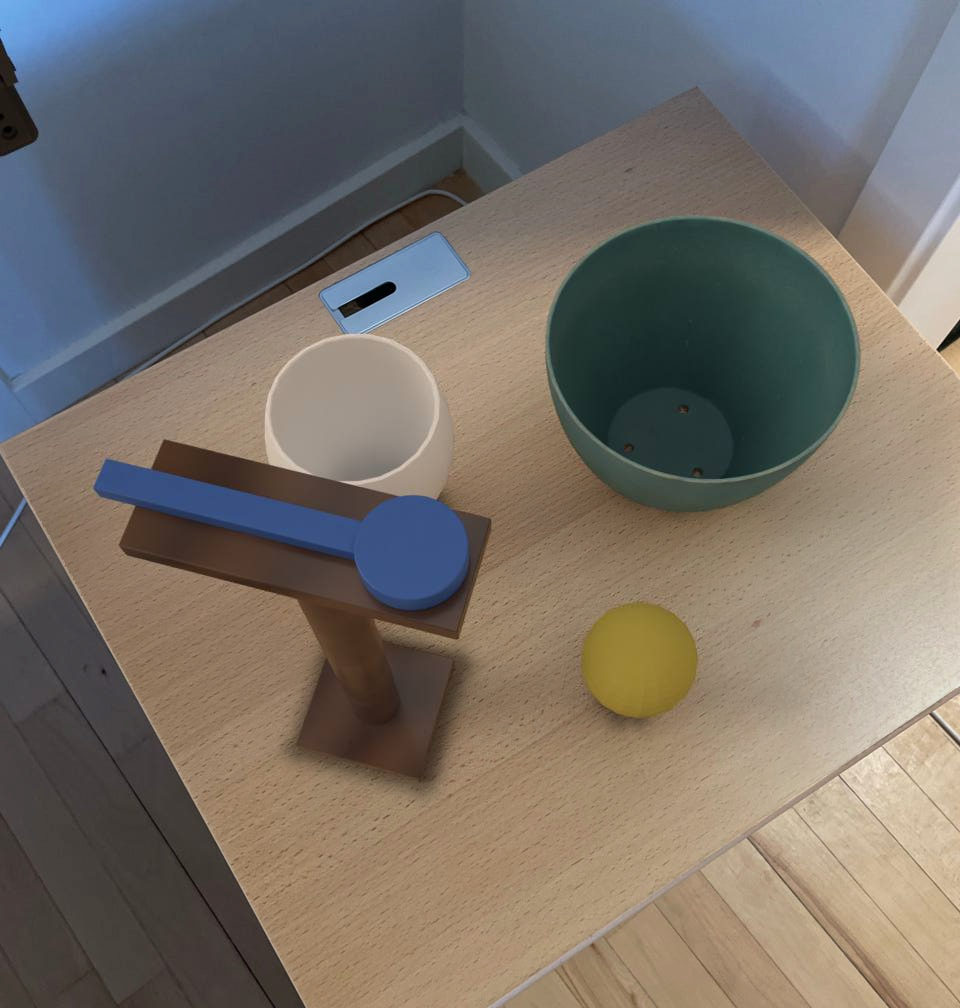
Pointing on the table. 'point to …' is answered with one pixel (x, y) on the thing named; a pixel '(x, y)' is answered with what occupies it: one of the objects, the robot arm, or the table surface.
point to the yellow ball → (639, 660)
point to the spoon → (320, 530)
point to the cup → (361, 417)
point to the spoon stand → (322, 607)
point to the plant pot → (699, 360)
